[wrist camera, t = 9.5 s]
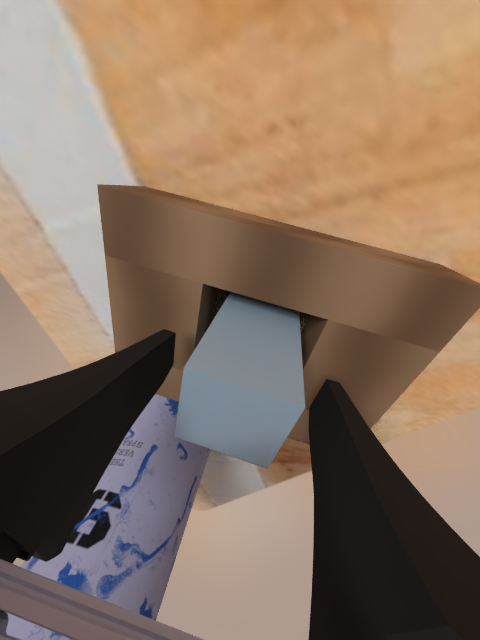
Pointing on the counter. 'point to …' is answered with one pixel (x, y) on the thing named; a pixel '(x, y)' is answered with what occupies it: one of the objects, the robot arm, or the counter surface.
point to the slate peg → (244, 381)
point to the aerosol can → (129, 521)
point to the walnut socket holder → (278, 292)
